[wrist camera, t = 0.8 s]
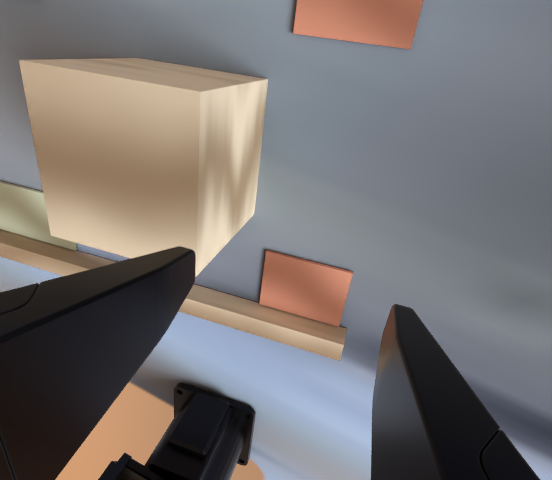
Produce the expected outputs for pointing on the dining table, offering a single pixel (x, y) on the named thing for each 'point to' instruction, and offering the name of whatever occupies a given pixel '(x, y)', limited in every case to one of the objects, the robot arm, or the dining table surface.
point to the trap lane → (278, 267)
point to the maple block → (145, 152)
